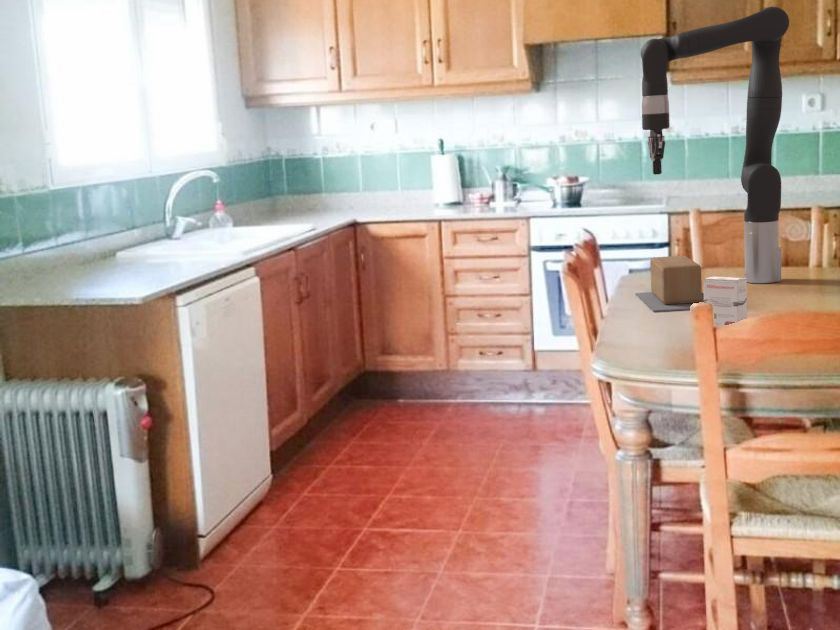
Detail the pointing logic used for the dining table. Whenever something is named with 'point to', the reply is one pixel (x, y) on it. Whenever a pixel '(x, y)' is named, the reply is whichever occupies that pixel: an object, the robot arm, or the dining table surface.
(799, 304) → the dining table surface
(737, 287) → the ink box
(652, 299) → the rubber mat
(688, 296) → the wooden block
